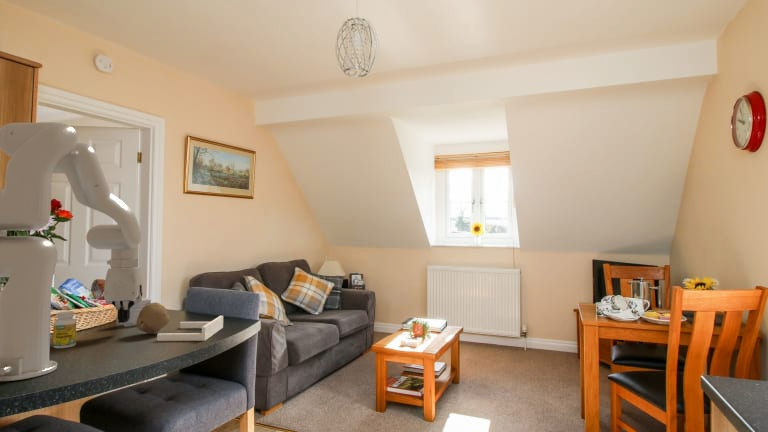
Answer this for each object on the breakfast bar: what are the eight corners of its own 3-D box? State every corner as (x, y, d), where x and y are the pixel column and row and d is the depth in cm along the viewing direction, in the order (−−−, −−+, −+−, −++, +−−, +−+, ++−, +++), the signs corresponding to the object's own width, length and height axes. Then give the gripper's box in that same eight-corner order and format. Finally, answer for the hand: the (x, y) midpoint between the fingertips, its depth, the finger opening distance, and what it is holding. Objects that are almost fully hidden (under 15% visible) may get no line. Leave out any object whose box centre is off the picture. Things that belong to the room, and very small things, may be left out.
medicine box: (147, 322, 160) (148, 298, 161) (150, 324, 157) (151, 299, 157) (122, 325, 155) (123, 300, 156) (125, 327, 152) (125, 301, 152)
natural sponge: (175, 331, 145) (176, 301, 145) (155, 338, 136) (156, 305, 137) (152, 330, 147) (152, 300, 148) (130, 336, 139) (131, 304, 139)
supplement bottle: (76, 343, 130) (77, 310, 131) (75, 347, 126) (76, 313, 126) (53, 345, 128) (54, 311, 128) (52, 349, 123) (53, 314, 123)
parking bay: (205, 340, 134) (205, 327, 134) (157, 341, 133) (157, 327, 133) (223, 327, 152) (223, 315, 152) (181, 327, 151) (181, 315, 151)
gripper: (93, 265, 138) (92, 324, 137) (143, 265, 139) (142, 324, 138) (107, 263, 145) (106, 319, 145) (154, 263, 146) (153, 319, 146)
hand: (123, 321), depth 142 cm, fingers closed
